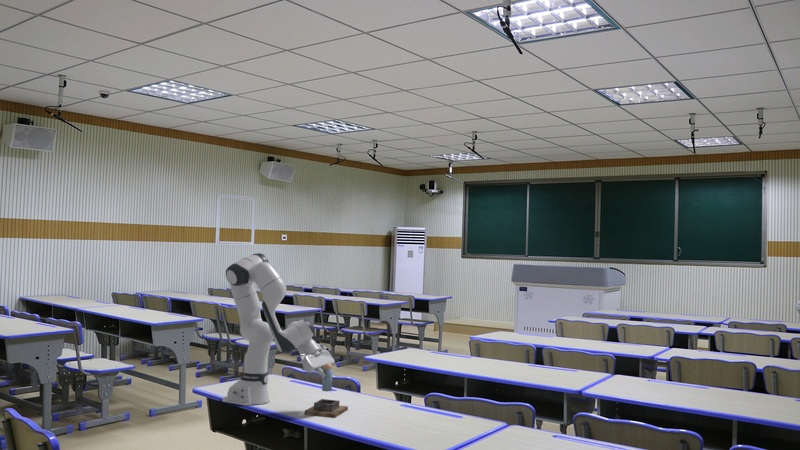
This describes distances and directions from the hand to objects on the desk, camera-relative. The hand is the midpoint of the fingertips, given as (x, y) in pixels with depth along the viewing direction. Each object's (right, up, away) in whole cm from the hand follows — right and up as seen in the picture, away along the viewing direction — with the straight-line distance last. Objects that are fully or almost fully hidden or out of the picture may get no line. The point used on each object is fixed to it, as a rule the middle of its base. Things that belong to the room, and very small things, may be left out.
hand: (328, 375), depth 282 cm
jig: (-1, -17, 0) cm, 16 cm away
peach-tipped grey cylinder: (-1, -7, 0) cm, 7 cm away
